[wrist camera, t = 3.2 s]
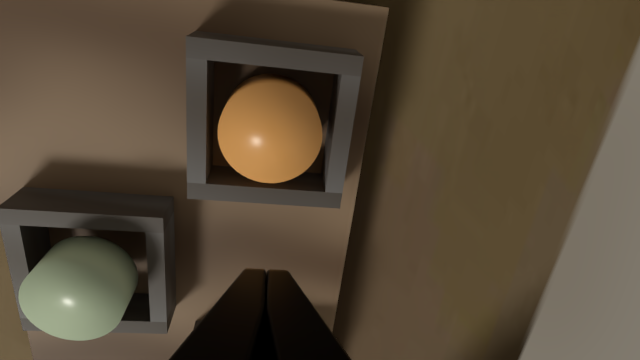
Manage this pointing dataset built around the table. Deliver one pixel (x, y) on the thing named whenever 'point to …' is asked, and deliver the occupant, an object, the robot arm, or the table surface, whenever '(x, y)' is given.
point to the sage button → (79, 288)
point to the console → (176, 150)
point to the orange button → (270, 129)
